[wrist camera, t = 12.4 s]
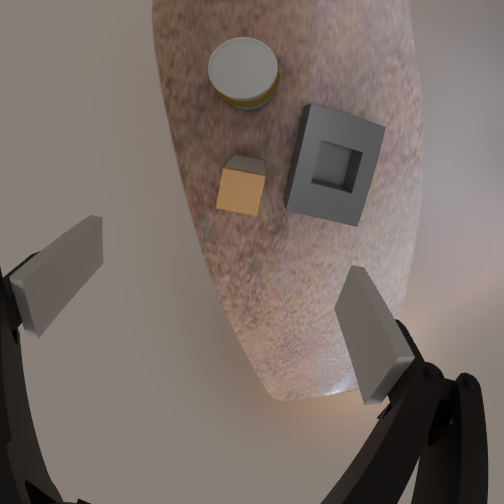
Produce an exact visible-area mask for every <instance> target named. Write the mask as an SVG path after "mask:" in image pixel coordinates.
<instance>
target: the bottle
mask: <svg viewBox="0 0 504 504" xmlns="http://www.w3.org/2000/svg"><path fill="white" fill-rule="evenodd" d="M277 64H278V63H277V59H276V56H275V55H274V53H273V52H272V50H271V49H270V47H268V46H267V45H266V44H265V43H263V42H261V41H259V40H257V39H254V38H250V37H237V38H233V39H230V40H227V41H225V42H223V43H222V44H221V45H219V46H218V47H217V48H216V49H215V50H214V52H213V53H212V55H211V57H210V59H209V62H208V74H209V77H210V81H211V83H212V85H213V87H214V89H215V91H216V93H217V94H218V95H219V96H220V97H221V98H222V99H223V100H224V101H226V102H228V103H229V104H231V105H232V106H234V107H236V108H238V109H241V110H256V109H259V108H261V107H263V106H264V105H266V104H267V103H268V102H269V101H270V100H271V98H272V97H273V95H274V93H275V90H276V88H277V86H278V82H279V69H278V66H277Z"/></svg>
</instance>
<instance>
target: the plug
mask: <svg viewBox="0 0 504 504" xmlns="http://www.w3.org/2000/svg"><path fill="white" fill-rule="evenodd" d="M265 178H266V174H265V164H264V160H261V159H256V158H251V157H246V156H241V155H236V154H234V155H233V157H232V158H231V159H230V160H229V162H228V163H227V164H226V165H225V167H224V168H223V172H222V177H221V183H220V188H219V194H218V200H217V205H216V209H222V210H227V211H232V212H237V213H242V214H247V215H252V216H257V213H258V209H259V204H260V200H261V196H262V191H263V187H264V182H265Z"/></svg>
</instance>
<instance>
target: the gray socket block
mask: <svg viewBox="0 0 504 504" xmlns="http://www.w3.org/2000/svg"><path fill="white" fill-rule="evenodd" d="M385 128H386V127H384V126H381V125H379V124H376V123H373V122H370V121H367V120H365V119H362V118H359V117H356V116H353V115H350V114H346V113H343V112H340V111H337V110H333V109H330V108H327V107H323V106H319V105H316V104H312V103H311V104H308V105H306V106H305V107H304V112H303V116H302V120H301V125H300V129H299V134H298V138H297V142H296V146H295V151H294V155H293V159H292V164H291V168H290V172H289V176H288V181H287V185H286V189H285V193H284V197H283V201H284V205H285V208H286V211H291V212H295V213H300V214H304V215H309V216H313V217H318V218H322V219H326V220H331V221H335V222H339V223H343V224H347V225H352V226H356V227H357V226H358V223H359V220H360V217H361V214H362V211H363V208H364V205H365V201H366V198H367V195H368V191H369V188H370V185H371V181H372V178H373V174H374V171H375V167H376V163H377V160H378V156H379V152H380V148H381V144H382V140H383V136H384V132H385Z"/></svg>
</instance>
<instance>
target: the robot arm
mask: <svg viewBox="0 0 504 504" xmlns="http://www.w3.org/2000/svg"><path fill="white" fill-rule="evenodd" d="M102 264H103V239H102V217H98V216H93V215H90V216H88V217H87V218H86V219H84V220H83V221H81V222H80V223H78V224H77V225H75V226H74V227H73V228H71V229H70V230H68V231H67V232H66V233H64V234H63V235H61V236H60V237H59V238H57V239H56V240H55V241H53V242H52V243H51V244H50V245H48V246H47V247H46V248H44V249H43V250H41V251H39V252H37V253H34V254H32V255H30V256H29V257H28V258H27V259H25V261H23V262H22V263H20V264H19V266H17V267H15V268H14V269H13V270H12V271H11V272H9V273H8V274H7V275H6V276H5V277H4V278H3V277H2V272H1V269H0V504H90V503H87V502H85V501H83V500H81V499H78V501H77V503H71V502H63V499H62V498H61V495H60V493H59V492H58V490H57V488H56V487H55V485H54V484H53V482H52V481H51V479H50V477H49V475H48V472H47V469H46V466H45V463H44V460H43V457H42V455H41V451H40V447H39V444H38V440H37V437H36V433H35V429H34V425H33V421H32V417H31V412H30V408H29V403H28V397H27V392H26V386H25V379H24V372H23V365H22V355H21V344H20V333H19V330H18V327H19V325H20V324H21V323H23V326H24V329H25V332H26V334H28V335H31V336H33V337H35V338H37V339H39V338H40V336H42V334H43V333H44V332H45V330H46V329H47V328H48V327H49V325H50V324H51V323H52V321H53V320H54V319H55V318H56V317H57V316H58V314H59V313H60V312H61V311H62V309H63V308H64V307H65V306H66V305H67V303H68V302H69V301H70V300H71V299H72V298H73V297H74V295H75V294H76V293H77V292H78V291H79V290H80V288H81V287H82V286H83V285H84V284H85V283H86V282H87V281H88V280H89V278H90V277H91V276H92V275H93V274H94V273H95V272H96V271H97V269H99V268H100V267H101V265H102ZM334 309H335V312H336V315H337V318H338V321H339V324H340V327H341V330H342V333H343V336H344V339H345V342H346V345H347V349H348V352H349V355H350V358H351V361H352V365H353V368H354V371H355V375H356V378H357V381H358V385H359V388H360V391H361V395H362V399H363V402H364V404H365V405H371V404H375V405H376V404H380V403H382V401H383V400H384V399H385V398H386V396H387V395H388V398H389V400H390V403H389V404H388V405H387V407H386V408H385V409H384V410H383V411H382V413H381V414H380V415H379V416H378V417H377V418H378V419H379V421H378V422H377V424H376V426H375V427H374V429H373V431H372V432H371V434H370V435H369V437H368V439H367V440H366V442H365V443H364V445H363V447H362V448H361V450H360V451H359V453H358V454H357V456H356V457H355V459H354V460H353V461H352V463H351V464H350V466H349V467H348V469H347V470H346V471H345V473H344V474H343V476H342V477H341V478H340V480H339V481H338V483H337V484H336V485H335V486H334V487H333V489H332V490H331V491H330V493H329V494H328V495H327V496H326V498H325V499H324V500H323V501H322V502H321V504H397V503H398V501H399V499H400V497H401V495H402V493H403V491H404V489H405V487H406V485H407V483H408V481H409V479H410V477H411V475H412V473H413V470H414V468H415V465H416V463H417V461H418V459H419V465H418V472H417V477H416V483H415V488H414V492H413V497H412V502H411V504H487V498H488V446H487V433H486V422H485V413H484V406H483V399H482V392H481V387H480V384H479V382H478V381H477V379H476V378H475V377H474V376H473V375H470V374H468V373H461V374H460V375H459V376H458V378H457V379H456V380H455V381H453V380H450V379H446V378H444V376H443V373H442V372H441V370H440V369H439V368H438V367H437V366H435V365H434V364H432V363H429V362H425V361H424V359H423V357H422V355H421V354H420V352H419V350H418V348H417V346H416V344H415V343H414V341H413V339H412V337H411V336H410V334H409V332H408V330H407V328H406V327H405V326H404V325H403V324H402V323H401V322H400V321H399V320H396V319H394V317H393V316H392V314H391V312H390V310H389V309H388V307H387V305H386V303H385V302H384V300H383V298H382V296H381V295H380V293H379V291H378V290H377V288H376V286H375V285H374V283H373V281H372V280H371V278H370V276H369V275H368V273H367V272H366V270H365V268H362V267H358V266H353V265H351V268H350V270H349V273H348V275H347V278H346V281H345V283H344V286H343V288H342V291H341V293H340V296H339V298H338V300H337V303H336V305H335V308H334ZM419 456H420V458H419Z"/></svg>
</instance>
